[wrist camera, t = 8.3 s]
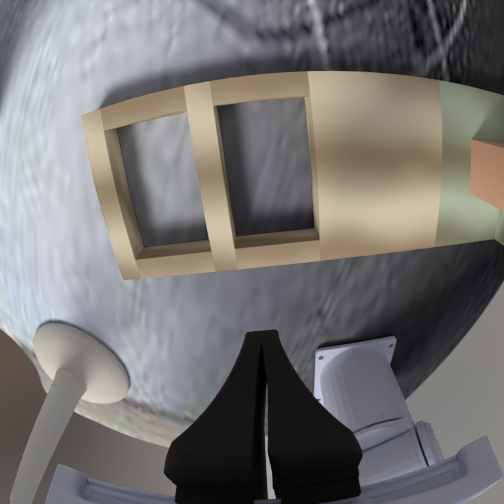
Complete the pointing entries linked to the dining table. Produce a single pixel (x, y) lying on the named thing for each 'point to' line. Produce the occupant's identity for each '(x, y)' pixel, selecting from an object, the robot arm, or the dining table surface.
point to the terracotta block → (487, 172)
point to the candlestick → (65, 395)
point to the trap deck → (317, 169)
